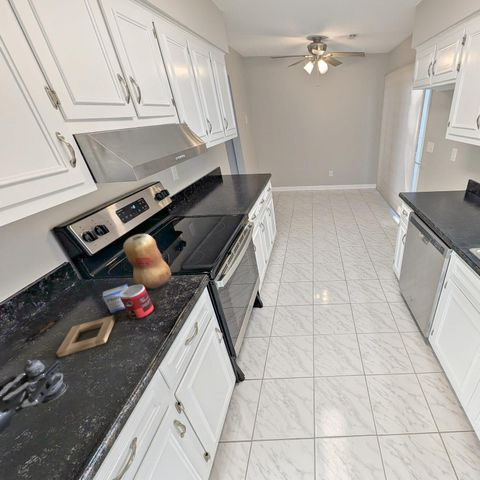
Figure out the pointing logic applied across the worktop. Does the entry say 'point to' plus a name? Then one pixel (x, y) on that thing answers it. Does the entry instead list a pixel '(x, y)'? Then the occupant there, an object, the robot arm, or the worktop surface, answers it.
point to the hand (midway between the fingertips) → (52, 362)
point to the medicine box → (114, 298)
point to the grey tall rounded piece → (59, 387)
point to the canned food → (136, 301)
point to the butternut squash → (146, 261)
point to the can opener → (44, 329)
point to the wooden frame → (71, 346)
